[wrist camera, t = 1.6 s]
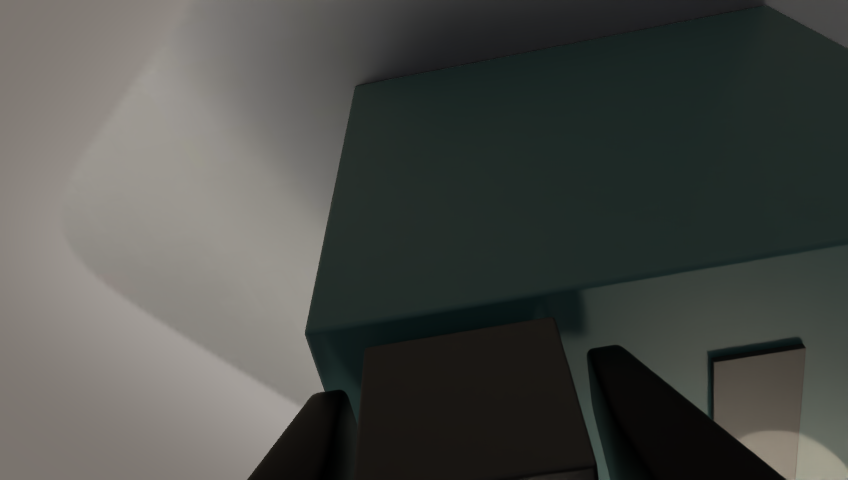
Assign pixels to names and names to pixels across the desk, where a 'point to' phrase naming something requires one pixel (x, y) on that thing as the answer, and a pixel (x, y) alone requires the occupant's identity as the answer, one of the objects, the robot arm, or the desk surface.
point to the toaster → (615, 220)
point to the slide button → (473, 408)
